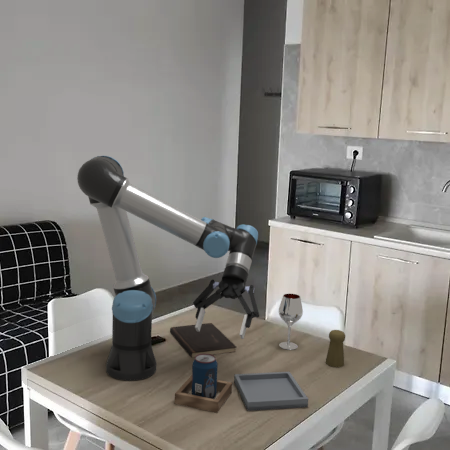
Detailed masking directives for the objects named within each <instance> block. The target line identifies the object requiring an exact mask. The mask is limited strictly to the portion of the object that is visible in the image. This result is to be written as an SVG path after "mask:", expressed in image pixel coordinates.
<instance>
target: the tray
mask: <svg viewBox="0 0 450 450" xmlns="http://www.w3.org/2000/svg"><path fill="white" fill-rule="evenodd" d="M233 377H234V378H233V382H234V385H235V387H236V389H237V391H238V394H239V395H240V397H241V399H242V402H243V404H244V406H245V408H246V410H247V412H250V411H252V412H253V411H267V410H268V411H269V410H284V409H297V408H298V409H299V408H308V406H309V397H308V396H307V395H306V393H305V392H304V390H303V388H301V386H300V385H299V383H298V382H297V380H296V379H295V377H294V376H293V374H292V373H291V372H290V371H278V372H277V371H274V372H273V371H272V372H271V371H270V372H257V373H256V372H255V373H254V372H253V373H252V372H251V373H234V376H233Z"/></svg>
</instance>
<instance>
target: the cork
mask: <svg viewBox="0 0 450 450" xmlns="http://www.w3.org/2000/svg"><path fill="white" fill-rule="evenodd" d="M328 338H329V339H328V340H329V345H328V348H327V354H326V358H325V362H324V363H325V365H327V366H329V367H333V368H342V367H344V366H345V353H344V351H345V349H344V341H346V334H345V332H344V331H342V330H340V329H332V330H331V331H329V334H328Z"/></svg>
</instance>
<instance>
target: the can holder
mask: <svg viewBox="0 0 450 450" xmlns="http://www.w3.org/2000/svg"><path fill="white" fill-rule="evenodd" d="M190 392H192V374H191V375H190V376H189V377H188V378H187V379H186V380H185V381H184V383H183V384H182V385H181V386H180V387H179V388H178V389H177V390H176V391H175V392H174V404H175V405H180V406H184V407H187V408H193V409H197V410H203V411H207V412H212V413H213V412H214V413H217V414H218V413H219V412H220V410H221V409H222V407H223V406H224V405H225V403H226V401H227V400H228V399H229V397H230V395H232V393H233V382H229V381H226V380H220V379H217V392H218V393H219V394H218V395H216V397H215V398H214V399H211V398H206V397H201V396H196V395H192V393H191V394H190Z"/></svg>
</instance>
